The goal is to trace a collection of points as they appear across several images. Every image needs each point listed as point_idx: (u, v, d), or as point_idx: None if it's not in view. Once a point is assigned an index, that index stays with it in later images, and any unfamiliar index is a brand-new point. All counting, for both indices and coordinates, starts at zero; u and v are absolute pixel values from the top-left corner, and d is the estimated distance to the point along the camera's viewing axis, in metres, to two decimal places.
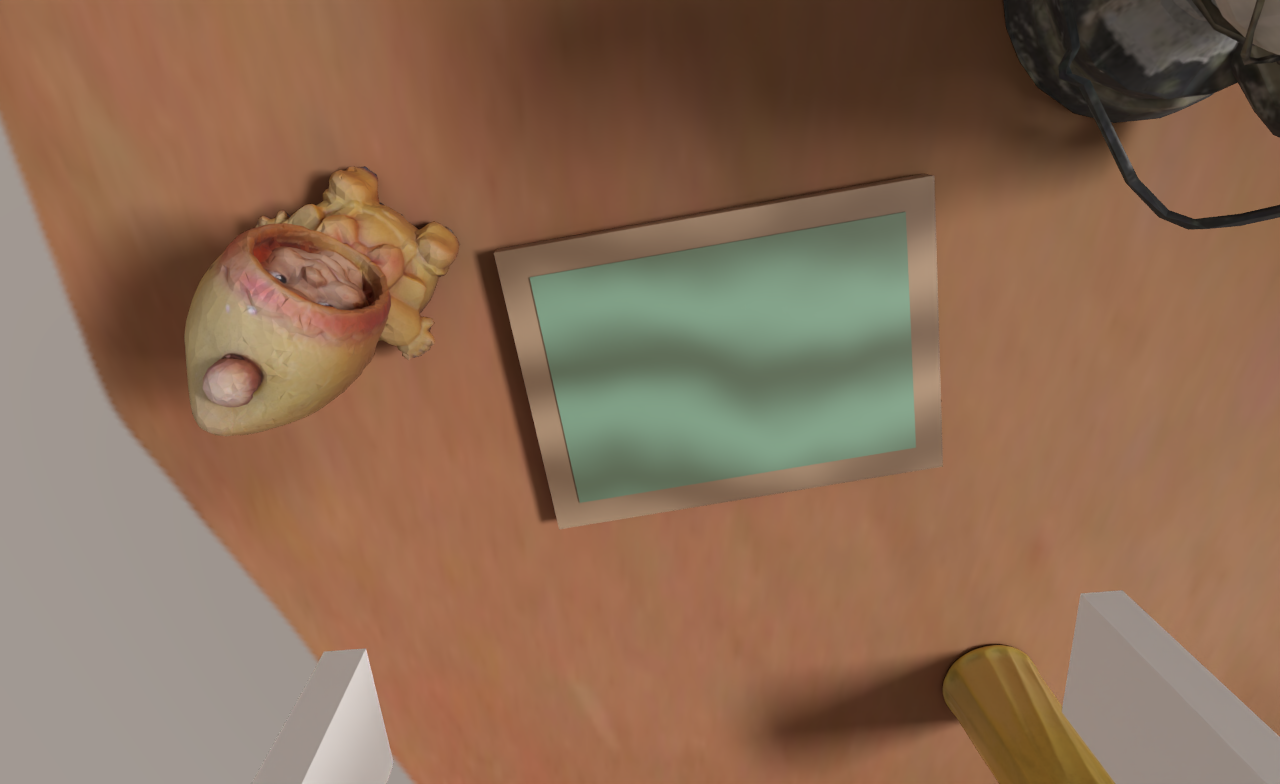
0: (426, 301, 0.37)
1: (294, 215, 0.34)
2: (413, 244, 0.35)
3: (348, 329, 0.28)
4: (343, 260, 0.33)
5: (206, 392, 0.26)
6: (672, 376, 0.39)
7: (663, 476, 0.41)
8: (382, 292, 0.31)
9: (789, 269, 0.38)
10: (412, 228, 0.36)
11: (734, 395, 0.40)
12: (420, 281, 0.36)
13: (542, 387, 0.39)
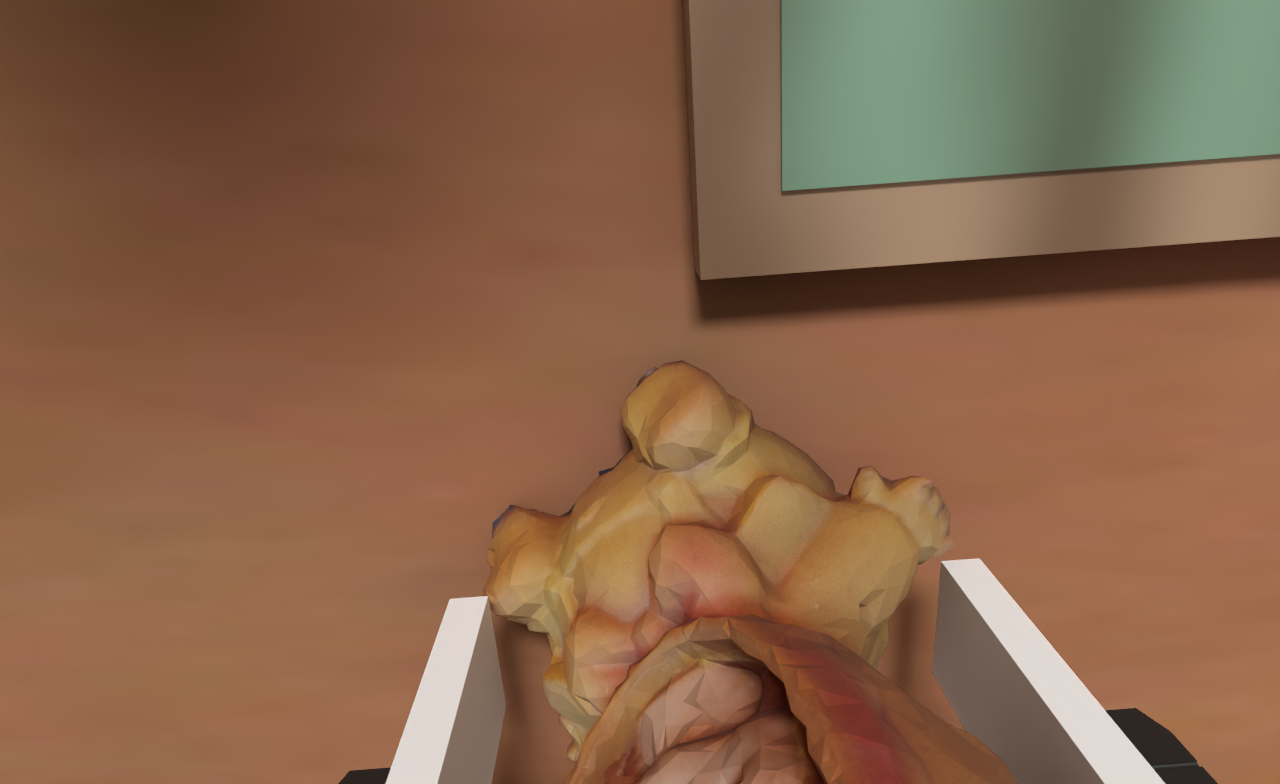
0: (810, 470, 0.14)
1: (564, 716, 0.15)
2: (661, 481, 0.14)
3: None
4: (668, 703, 0.12)
5: None
6: None
7: None
8: (780, 679, 0.09)
9: None
10: (628, 464, 0.15)
11: None
12: (759, 488, 0.13)
13: (1105, 201, 0.13)
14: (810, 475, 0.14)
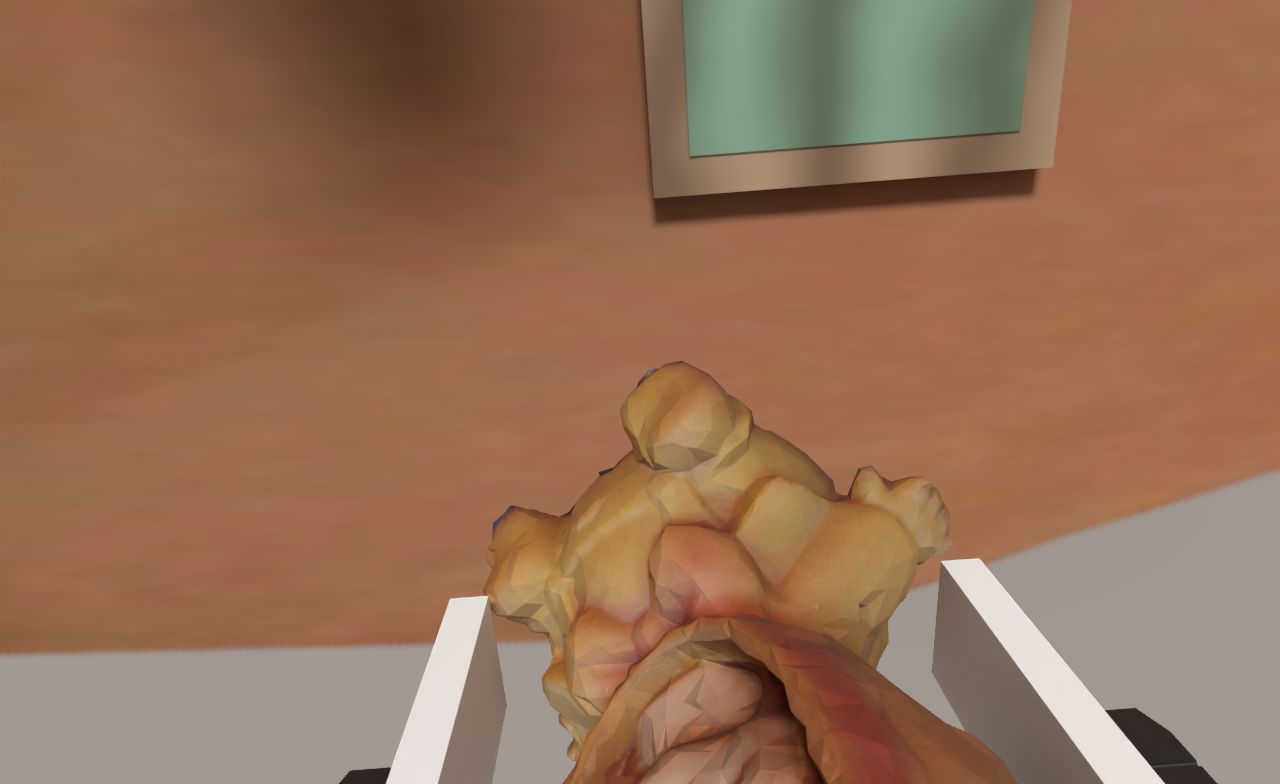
0: (809, 471, 0.14)
1: (564, 716, 0.15)
2: (662, 481, 0.14)
3: None
4: (668, 704, 0.12)
5: None
6: None
7: None
8: (779, 679, 0.09)
9: None
10: (628, 465, 0.15)
11: None
12: (759, 489, 0.13)
13: (838, 160, 0.29)
14: (810, 475, 0.14)
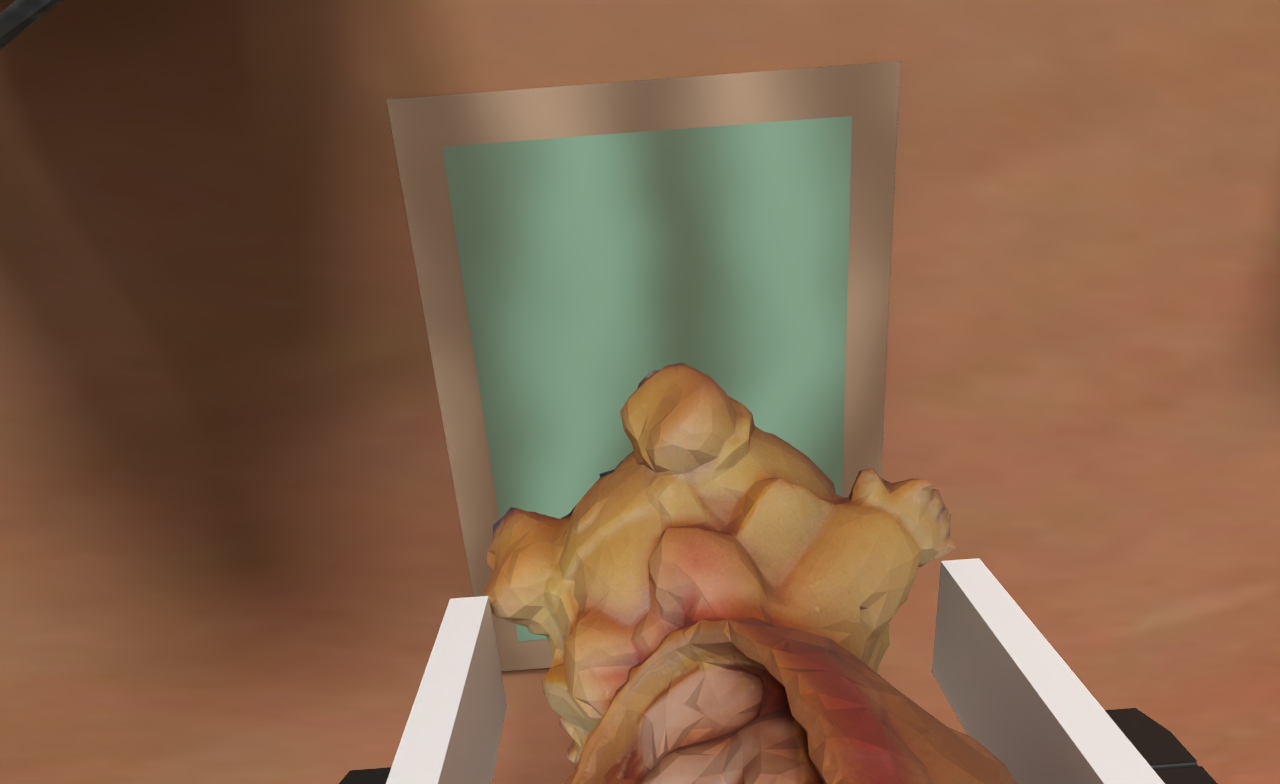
0: (810, 472, 0.14)
1: (564, 719, 0.15)
2: (662, 484, 0.14)
3: None
4: (668, 707, 0.12)
5: None
6: None
7: None
8: (781, 683, 0.09)
9: (524, 326, 0.25)
10: (629, 467, 0.15)
11: None
12: (759, 491, 0.13)
13: None
14: (810, 477, 0.14)
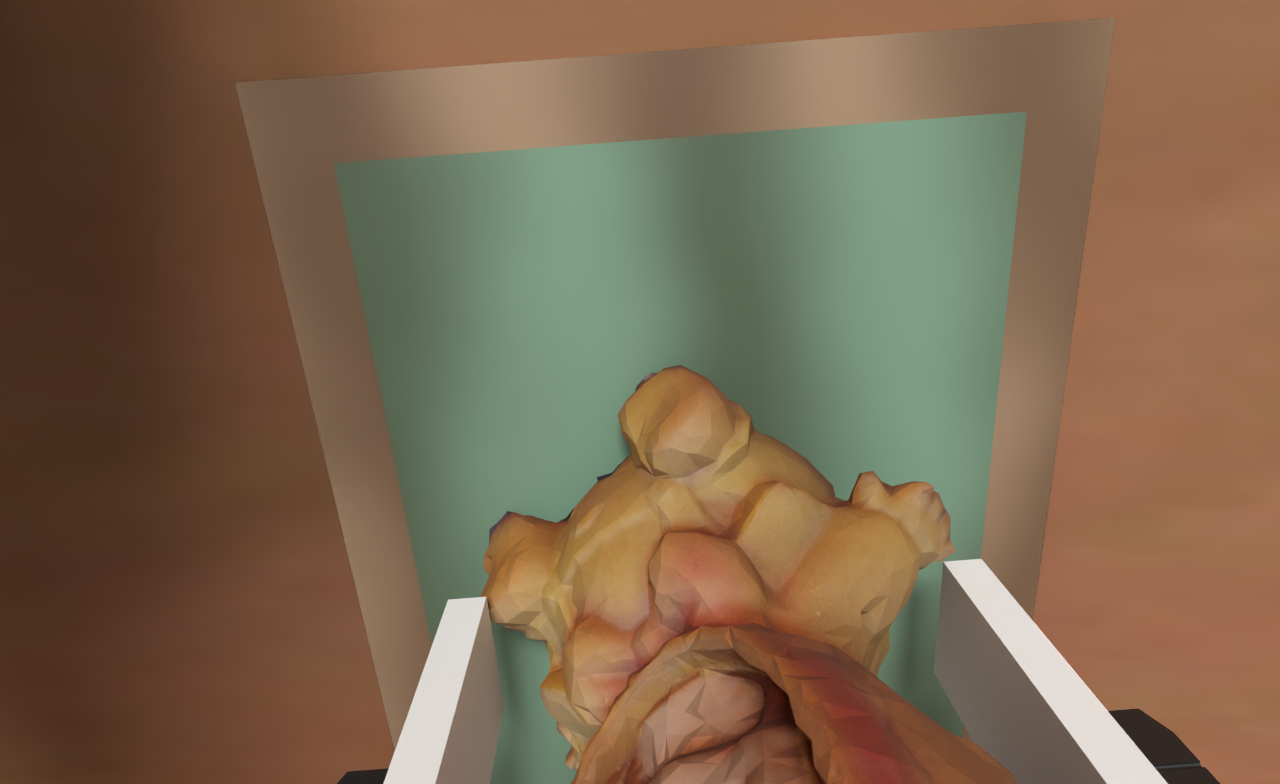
0: (810, 475, 0.14)
1: (562, 725, 0.15)
2: (661, 487, 0.14)
3: None
4: (669, 713, 0.11)
5: None
6: None
7: (934, 708, 0.19)
8: (783, 690, 0.09)
9: (480, 448, 0.16)
10: (626, 470, 0.15)
11: None
12: (759, 495, 0.13)
13: None
14: (810, 480, 0.14)
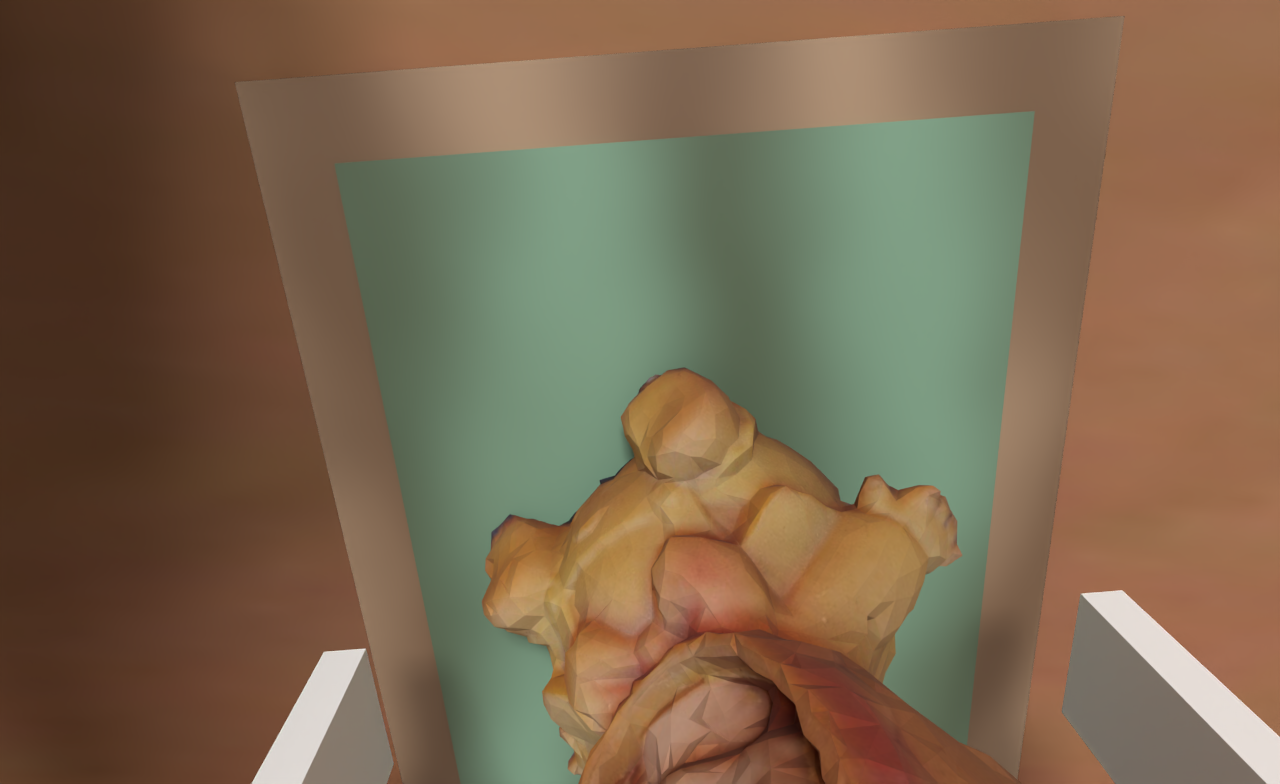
0: (815, 479, 0.14)
1: (565, 730, 0.15)
2: (664, 491, 0.14)
3: None
4: (673, 721, 0.11)
5: None
6: None
7: (939, 712, 0.19)
8: (790, 699, 0.09)
9: (482, 451, 0.16)
10: (630, 473, 0.15)
11: None
12: (764, 499, 0.13)
13: None
14: (815, 484, 0.14)
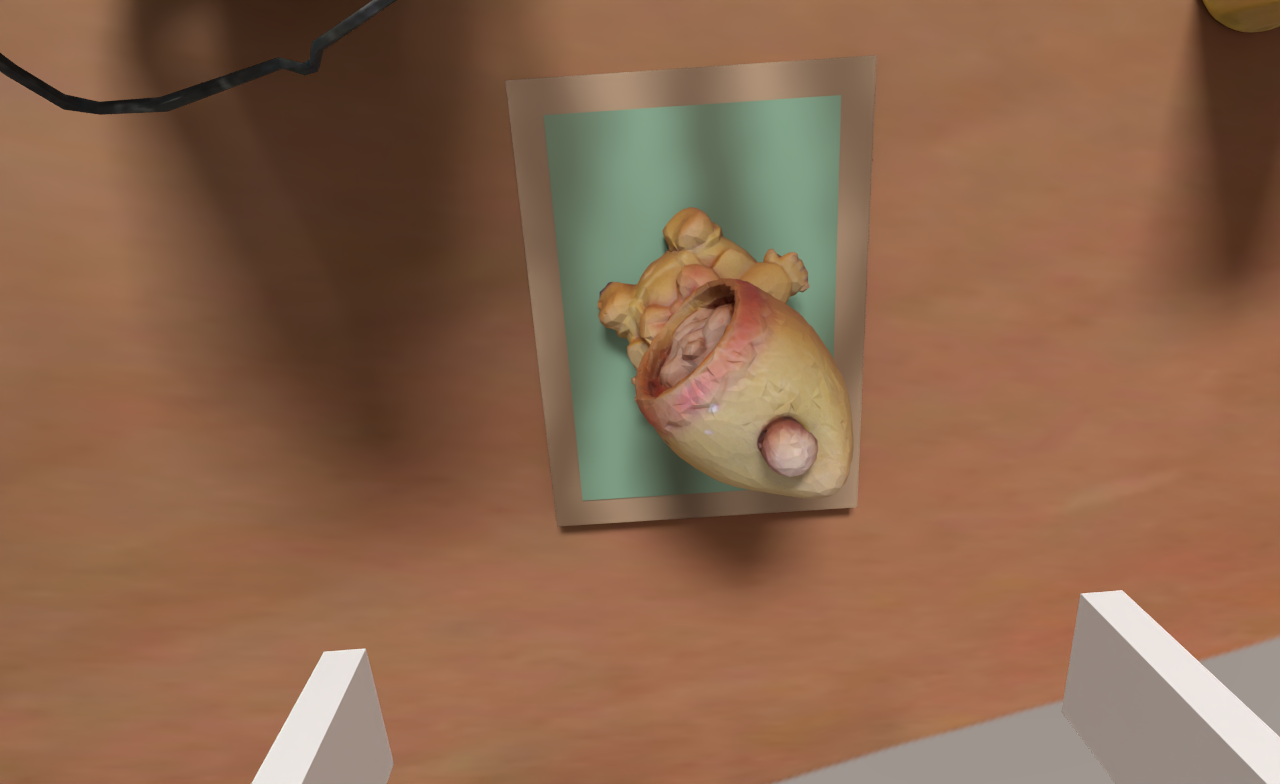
0: (746, 253, 0.33)
1: (636, 367, 0.33)
2: (681, 253, 0.32)
3: (754, 317, 0.24)
4: (685, 323, 0.30)
5: (794, 474, 0.24)
6: None
7: None
8: (724, 284, 0.28)
9: (597, 250, 0.34)
10: (666, 253, 0.33)
11: None
12: (723, 252, 0.32)
13: (694, 503, 0.39)
14: (746, 255, 0.33)
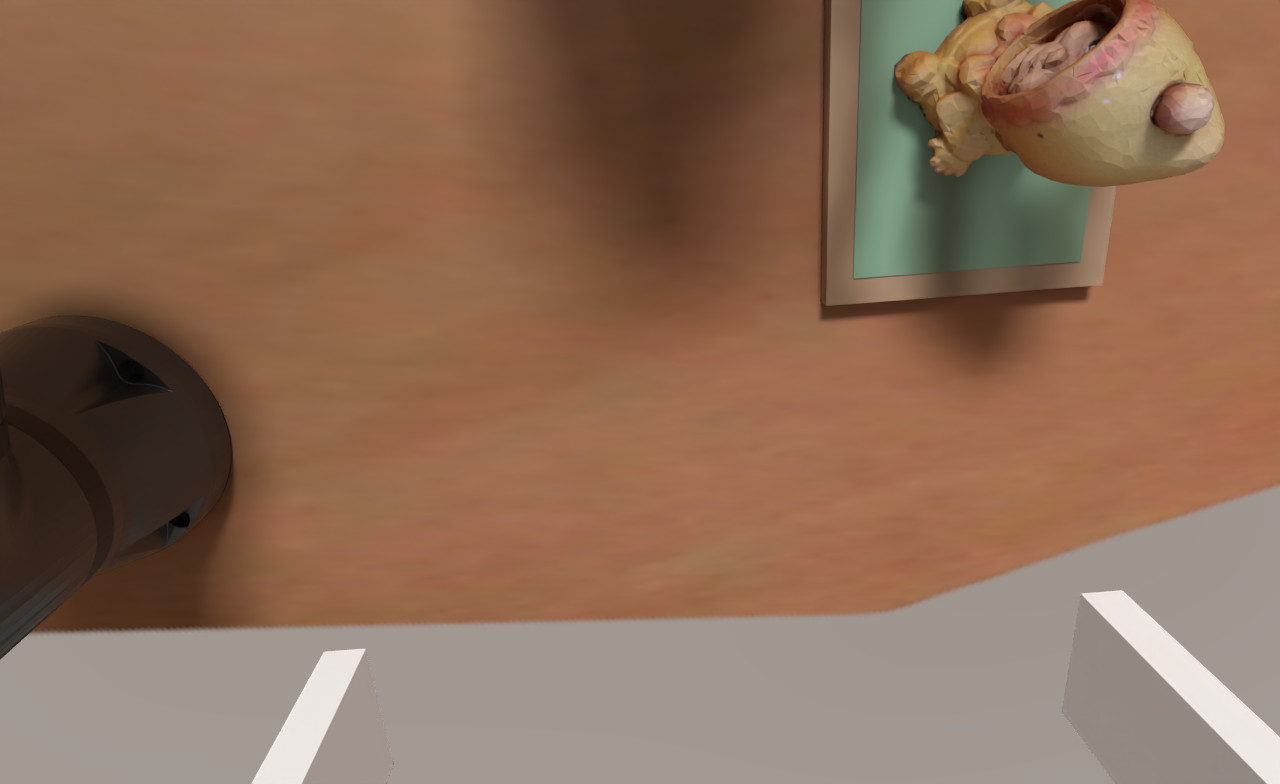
0: None
1: (943, 122, 0.37)
2: (993, 11, 0.35)
3: None
4: (1018, 58, 0.33)
5: (1196, 126, 0.27)
6: None
7: None
8: (1077, 3, 0.31)
9: (897, 23, 0.38)
10: (969, 19, 0.37)
11: None
12: (1036, 6, 0.35)
13: (955, 281, 0.43)
14: None
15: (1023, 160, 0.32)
